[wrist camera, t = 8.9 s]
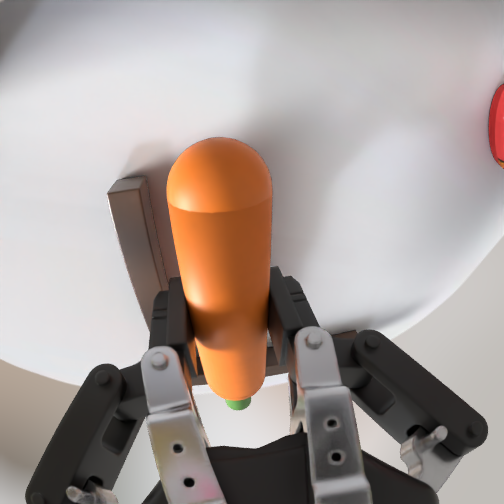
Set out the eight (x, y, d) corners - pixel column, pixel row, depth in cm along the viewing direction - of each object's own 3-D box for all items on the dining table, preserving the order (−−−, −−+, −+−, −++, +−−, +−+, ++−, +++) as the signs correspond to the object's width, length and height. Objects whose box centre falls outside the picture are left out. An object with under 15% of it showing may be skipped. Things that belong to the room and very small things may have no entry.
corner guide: (115, 179, 12) (105, 193, 11) (401, 165, 14) (420, 176, 13) (173, 369, 21) (174, 387, 20) (351, 340, 23) (358, 355, 22)
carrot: (166, 134, 8) (152, 158, 6) (259, 127, 9) (287, 147, 6) (211, 382, 17) (216, 424, 14) (258, 376, 17) (268, 417, 15)
